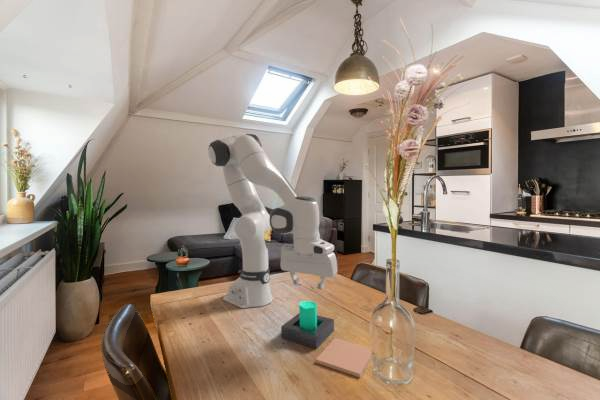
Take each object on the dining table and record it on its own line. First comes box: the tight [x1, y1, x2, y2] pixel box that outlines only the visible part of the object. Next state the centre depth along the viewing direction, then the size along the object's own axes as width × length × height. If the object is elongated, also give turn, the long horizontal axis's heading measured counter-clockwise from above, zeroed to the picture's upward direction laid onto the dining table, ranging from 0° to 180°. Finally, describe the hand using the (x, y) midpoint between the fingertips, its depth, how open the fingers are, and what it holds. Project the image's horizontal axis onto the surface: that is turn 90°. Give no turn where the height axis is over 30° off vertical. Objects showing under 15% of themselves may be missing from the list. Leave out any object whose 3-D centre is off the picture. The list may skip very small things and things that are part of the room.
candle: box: [298, 300, 318, 331], centre depth 97 cm, size 6×6×12 cm
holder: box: [280, 313, 335, 350], centre depth 98 cm, size 13×13×4 cm
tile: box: [315, 338, 373, 378], centre depth 84 cm, size 13×13×1 cm
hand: (308, 286), depth 97 cm, fingers open, 8 cm apart
